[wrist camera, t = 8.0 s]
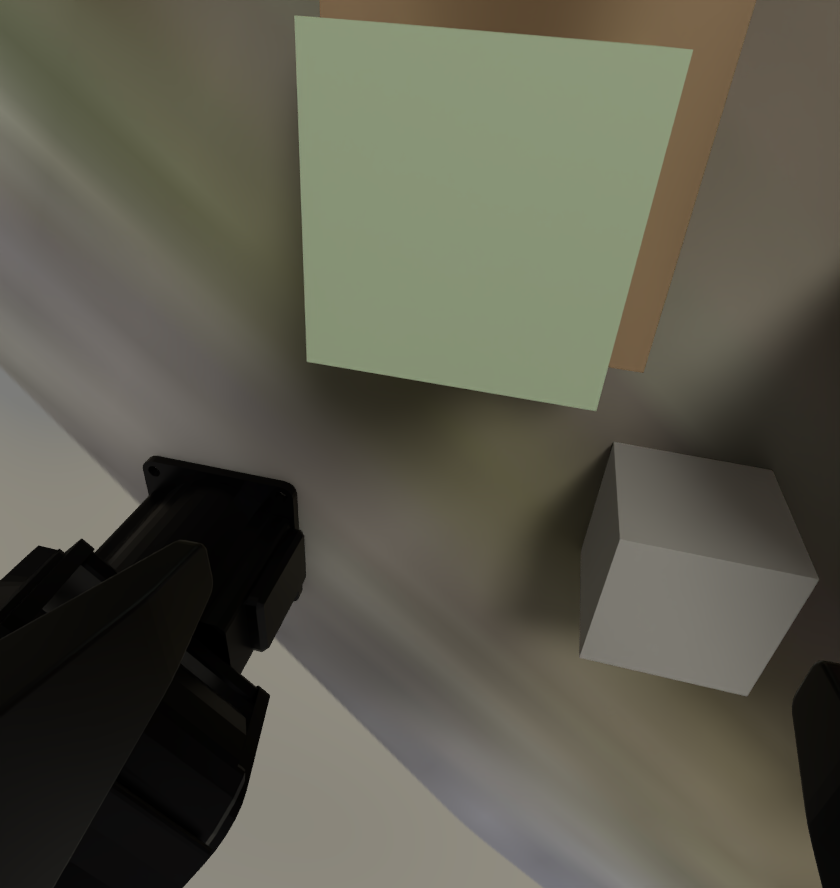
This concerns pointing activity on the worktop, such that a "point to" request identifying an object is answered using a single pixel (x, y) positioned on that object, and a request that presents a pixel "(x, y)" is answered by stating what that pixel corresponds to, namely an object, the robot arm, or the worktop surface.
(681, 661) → the grey cube
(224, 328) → the worktop surface
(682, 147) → the walnut base block
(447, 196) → the sage cube
